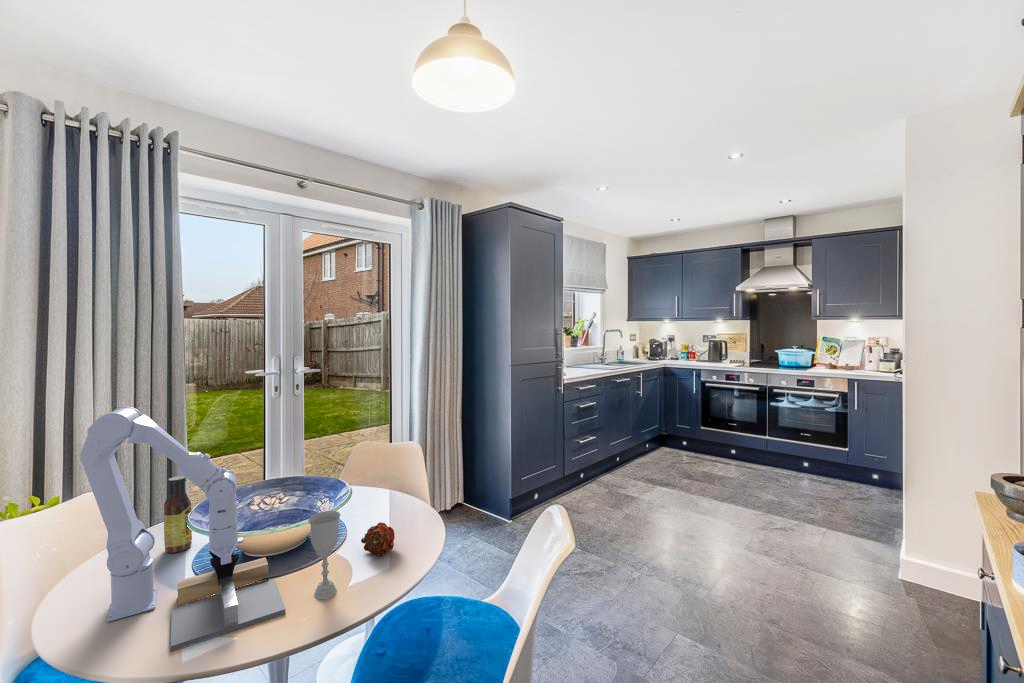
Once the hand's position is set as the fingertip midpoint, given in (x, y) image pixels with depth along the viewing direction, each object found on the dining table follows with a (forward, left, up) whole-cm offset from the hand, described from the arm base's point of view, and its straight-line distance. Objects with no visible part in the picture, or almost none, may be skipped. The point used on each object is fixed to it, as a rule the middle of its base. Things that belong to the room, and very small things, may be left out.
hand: (224, 581), depth 109 cm
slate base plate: (+12, 0, -2) cm, 12 cm away
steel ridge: (+12, 0, -2) cm, 12 cm away
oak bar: (0, 0, -2) cm, 2 cm away
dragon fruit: (+4, +36, -2) cm, 36 cm away
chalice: (+16, +19, -2) cm, 25 cm away
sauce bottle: (-30, -9, -2) cm, 31 cm away
